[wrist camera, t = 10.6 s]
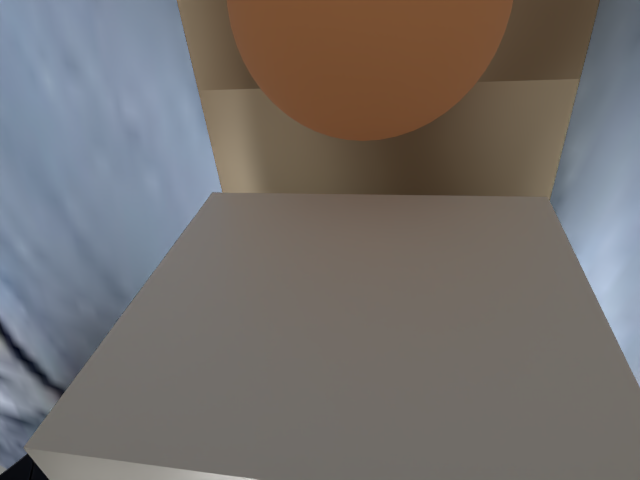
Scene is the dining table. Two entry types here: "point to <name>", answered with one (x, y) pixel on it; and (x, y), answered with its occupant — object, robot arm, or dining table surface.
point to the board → (413, 147)
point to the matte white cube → (355, 351)
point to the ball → (367, 59)
